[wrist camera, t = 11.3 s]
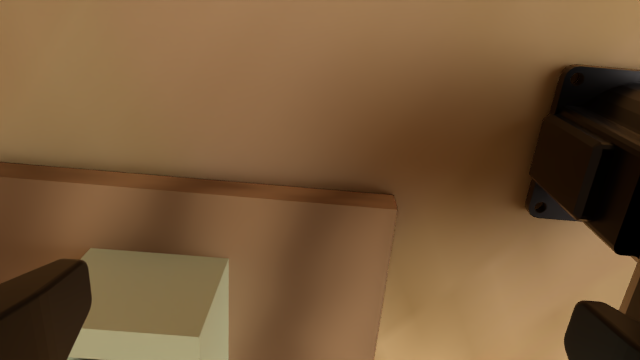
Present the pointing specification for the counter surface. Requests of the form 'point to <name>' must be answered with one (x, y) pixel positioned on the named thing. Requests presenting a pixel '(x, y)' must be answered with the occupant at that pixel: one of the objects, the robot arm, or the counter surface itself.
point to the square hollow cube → (155, 307)
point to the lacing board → (222, 248)
